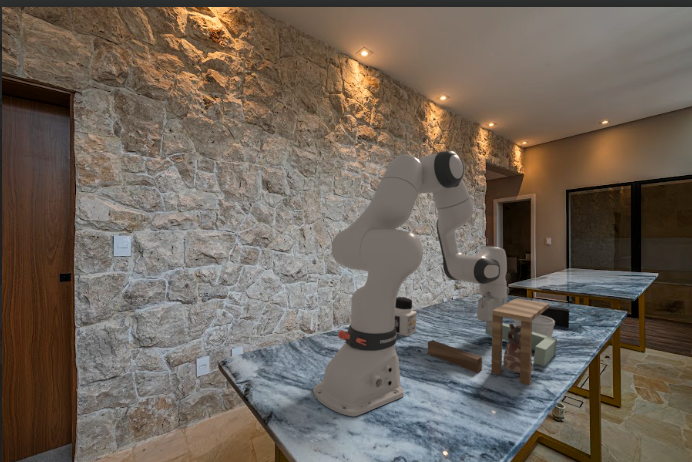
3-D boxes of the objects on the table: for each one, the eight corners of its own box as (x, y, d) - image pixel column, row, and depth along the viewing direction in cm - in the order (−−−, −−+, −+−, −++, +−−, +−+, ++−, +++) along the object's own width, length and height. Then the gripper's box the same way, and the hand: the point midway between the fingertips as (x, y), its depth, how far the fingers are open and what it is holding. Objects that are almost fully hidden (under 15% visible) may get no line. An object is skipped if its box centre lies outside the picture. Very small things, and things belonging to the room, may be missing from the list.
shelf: (528, 385, 75) (530, 317, 75) (491, 372, 82) (492, 310, 82) (547, 359, 91) (548, 303, 91) (515, 350, 97) (516, 298, 97)
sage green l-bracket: (543, 366, 86) (545, 349, 86) (472, 340, 102) (473, 326, 101) (555, 354, 95) (557, 339, 95) (488, 332, 111) (489, 318, 110)
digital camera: (567, 324, 127) (568, 308, 127) (569, 327, 123) (569, 310, 123) (538, 320, 133) (539, 304, 133) (539, 323, 128) (539, 307, 128)
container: (407, 336, 108) (408, 301, 108) (388, 332, 113) (389, 298, 113) (416, 331, 115) (417, 297, 115) (398, 327, 119) (399, 294, 119)
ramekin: (563, 343, 105) (563, 323, 105) (525, 342, 106) (526, 322, 106) (539, 330, 119) (540, 313, 119) (506, 329, 119) (506, 312, 119)
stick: (477, 374, 81) (477, 359, 81) (427, 354, 94) (427, 342, 94) (481, 371, 83) (482, 357, 83) (432, 352, 95) (432, 340, 95)
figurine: (517, 374, 81) (518, 330, 81) (497, 363, 88) (498, 322, 88) (538, 371, 83) (539, 328, 83) (517, 361, 90) (518, 321, 90)
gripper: (491, 296, 99) (491, 337, 99) (510, 288, 113) (509, 324, 113) (472, 293, 103) (471, 333, 103) (492, 285, 118) (492, 320, 118)
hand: (491, 328), depth 108 cm, fingers closed on sage green l-bracket, 3 cm apart
